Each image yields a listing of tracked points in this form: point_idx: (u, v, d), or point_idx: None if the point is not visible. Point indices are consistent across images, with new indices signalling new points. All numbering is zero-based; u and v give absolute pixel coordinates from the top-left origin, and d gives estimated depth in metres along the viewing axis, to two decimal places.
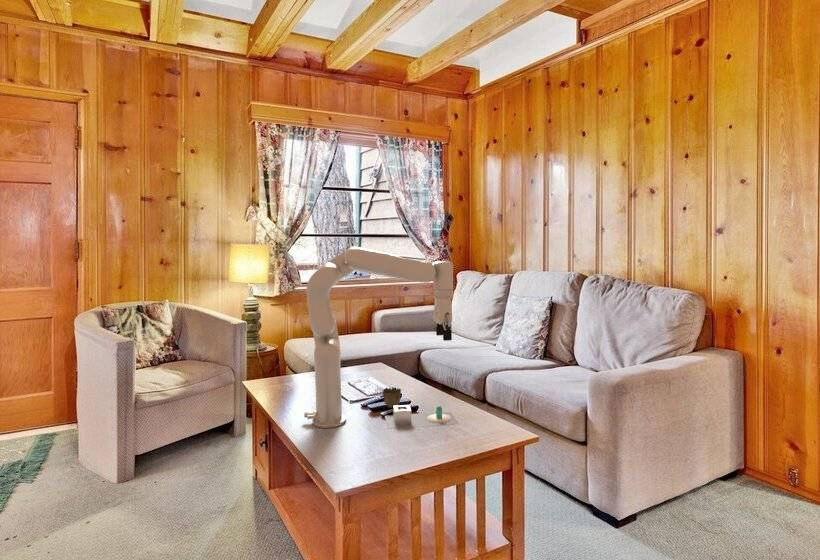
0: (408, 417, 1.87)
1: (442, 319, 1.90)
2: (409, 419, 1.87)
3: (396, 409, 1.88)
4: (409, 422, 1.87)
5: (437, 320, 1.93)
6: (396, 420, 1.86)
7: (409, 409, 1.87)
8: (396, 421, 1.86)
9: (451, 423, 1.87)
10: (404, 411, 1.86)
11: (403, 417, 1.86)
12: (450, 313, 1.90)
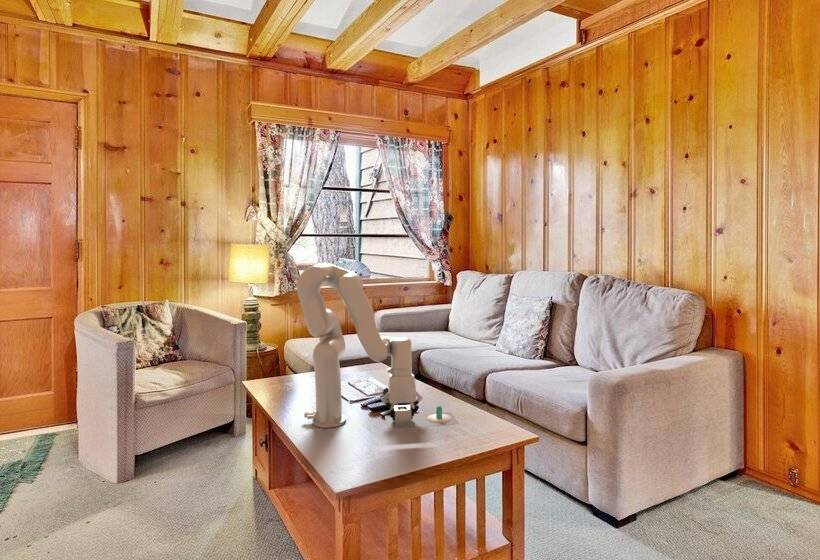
0: (408, 417, 1.87)
1: None
2: (409, 419, 1.87)
3: (396, 409, 1.88)
4: (409, 422, 1.87)
5: (406, 399, 1.86)
6: (396, 420, 1.86)
7: (409, 409, 1.87)
8: (396, 421, 1.86)
9: (451, 423, 1.87)
10: (404, 411, 1.86)
11: (403, 417, 1.86)
12: None
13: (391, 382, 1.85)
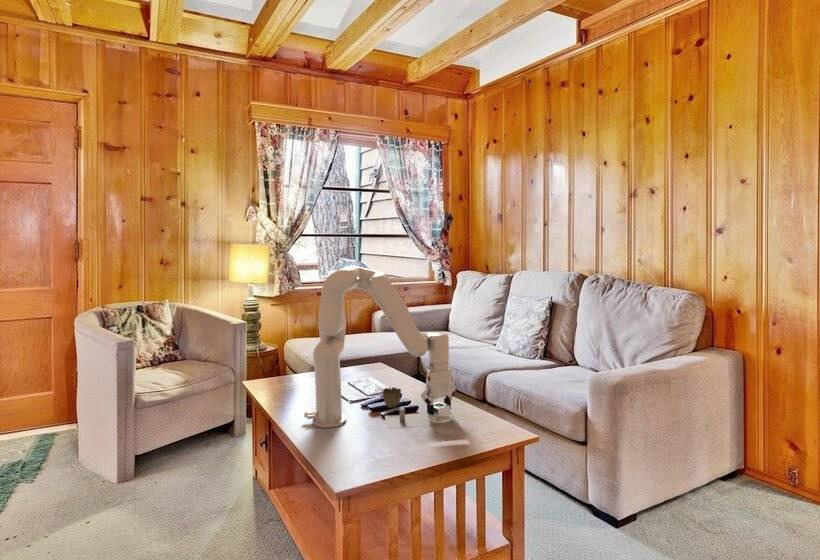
0: (447, 412, 1.90)
1: None
2: (448, 414, 1.90)
3: (435, 407, 1.89)
4: (448, 417, 1.91)
5: (446, 393, 1.89)
6: (439, 418, 1.88)
7: (447, 405, 1.91)
8: (438, 419, 1.87)
9: (451, 423, 1.87)
10: (445, 407, 1.89)
11: (444, 413, 1.89)
12: None
13: (434, 378, 1.86)
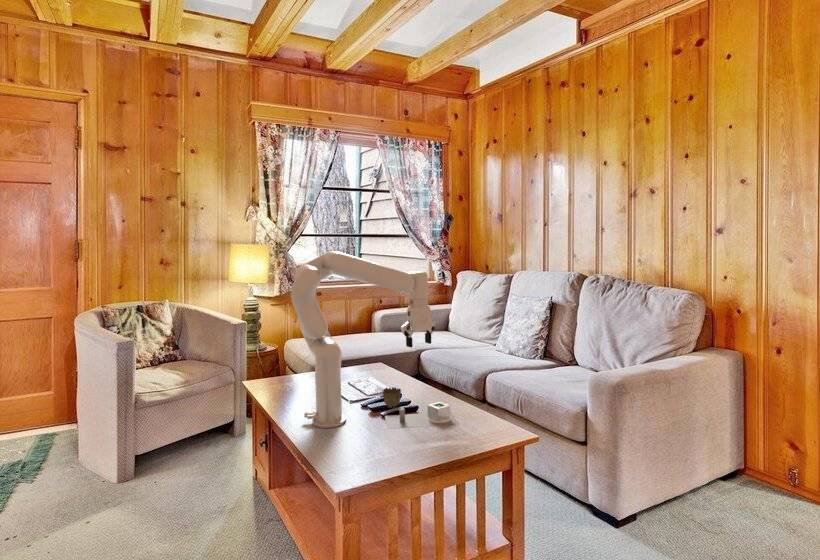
0: (447, 412, 1.90)
1: None
2: (448, 414, 1.90)
3: (435, 407, 1.89)
4: (448, 417, 1.91)
5: (425, 328, 2.01)
6: (439, 418, 1.88)
7: (447, 405, 1.91)
8: (438, 419, 1.87)
9: (451, 423, 1.87)
10: (445, 407, 1.89)
11: (444, 413, 1.89)
12: None
13: (414, 312, 1.98)
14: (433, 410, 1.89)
